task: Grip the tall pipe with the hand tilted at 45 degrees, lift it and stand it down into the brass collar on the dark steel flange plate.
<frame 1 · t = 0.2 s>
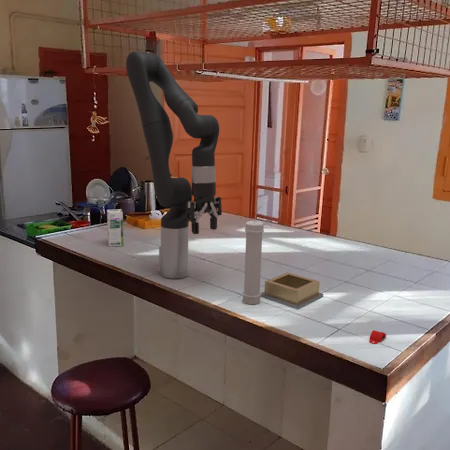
hand: (204, 231, 159), 18 cm above the countertop, tool pointing down, fingers open, 8 cm apart
syrup box: (115, 245, 206), on the countertop
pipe: (252, 302, 150), on the countertop
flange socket: (291, 296, 155), on the countertop
pipe clamp: (377, 340, 129), on the countertop
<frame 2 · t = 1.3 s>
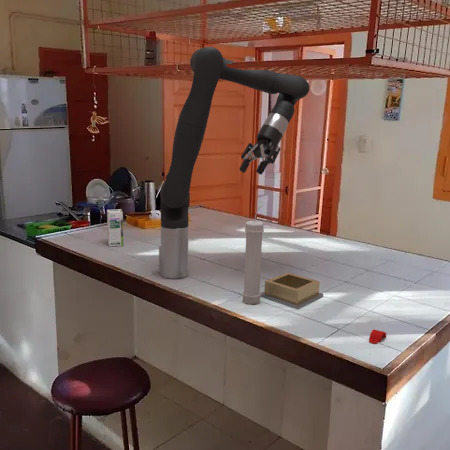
hand: (250, 172, 161), 36 cm above the countertop, tool tilted 35°, fingers open, 8 cm apart
nothing on the countertop moved.
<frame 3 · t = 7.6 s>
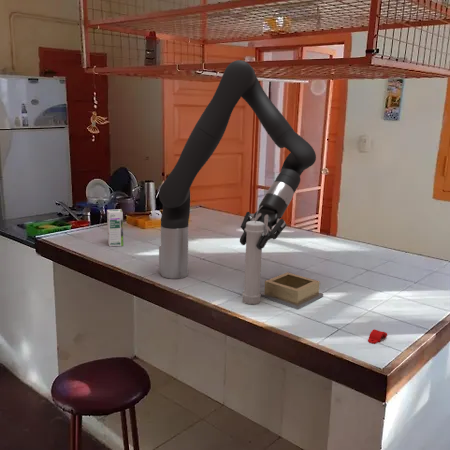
hand: (250, 245, 145), 18 cm above the countertop, tool tilted 45°, fingers closed on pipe, 5 cm apart
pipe: (251, 302, 150), on the countertop, touching gripper
everything else where it was.
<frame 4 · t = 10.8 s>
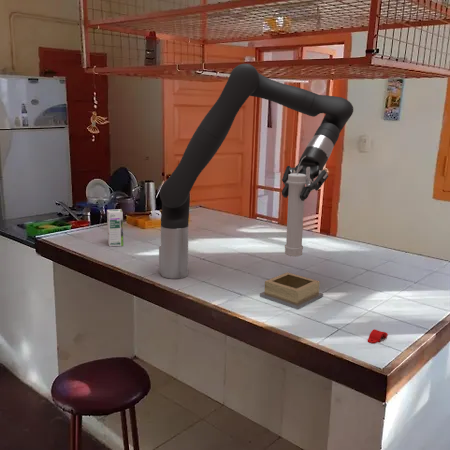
hand: (292, 197, 146), 31 cm above the countertop, tool tilted 45°, fingers closed on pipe, 5 cm apart
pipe: (294, 255, 152), point 13 cm above the countertop, touching gripper
everything else where it was.
when the fingers open (20 cm above the countertop, at t = 14.1 s): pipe drops 1 cm, resting on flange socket.
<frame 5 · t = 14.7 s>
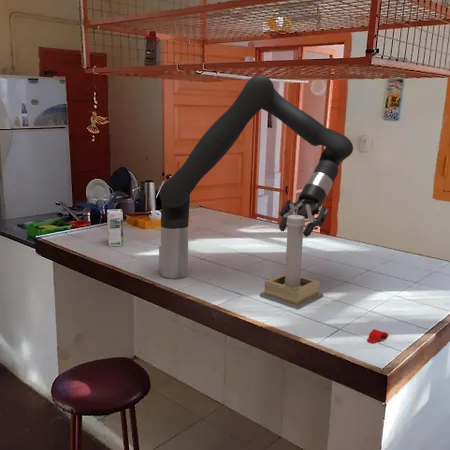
hand: (292, 232, 149), 21 cm above the countertop, tool tilted 45°, fingers open, 8 cm apart
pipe: (292, 294, 155), point 1 cm above the countertop, touching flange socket
everything else where it was.
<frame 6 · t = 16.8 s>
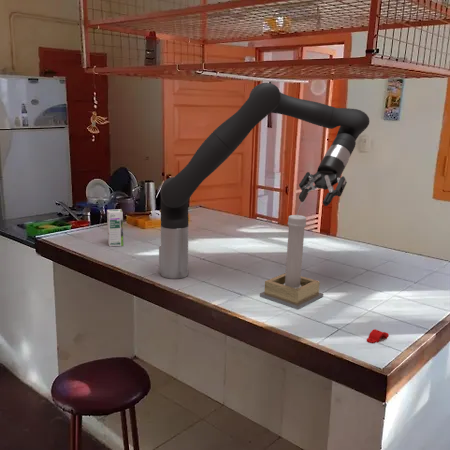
hand: (312, 202, 154), 29 cm above the countertop, tool tilted 45°, fingers open, 8 cm apart
nothing on the countertop moved.
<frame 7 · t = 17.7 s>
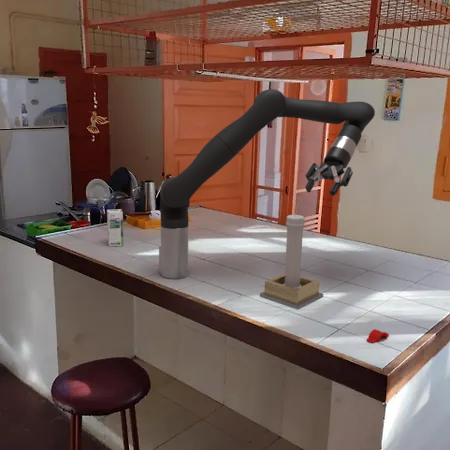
hand: (319, 192, 157), 31 cm above the countertop, tool tilted 45°, fingers open, 8 cm apart
nothing on the countertop moved.
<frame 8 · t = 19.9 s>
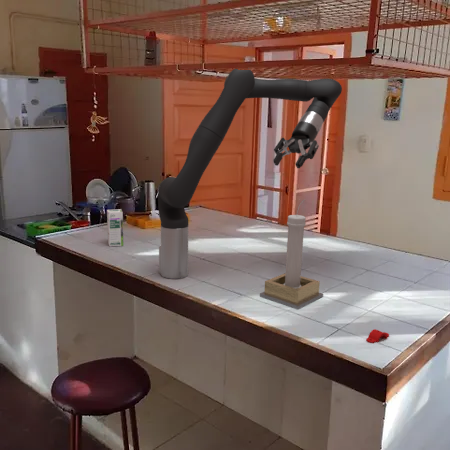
hand: (286, 165, 162), 39 cm above the countertop, tool tilted 45°, fingers open, 8 cm apart
nothing on the countertop moved.
at the end: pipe 0.3 cm off-centre on the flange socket, point 0.8 cm above the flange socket's base; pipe tilted 1°; the gripper is holding nothing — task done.
